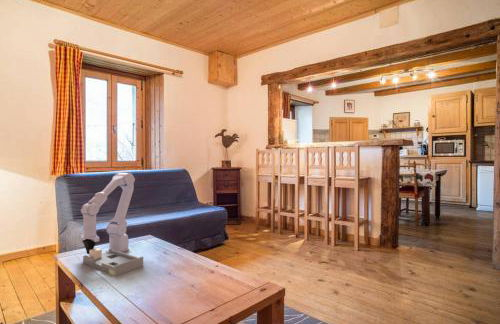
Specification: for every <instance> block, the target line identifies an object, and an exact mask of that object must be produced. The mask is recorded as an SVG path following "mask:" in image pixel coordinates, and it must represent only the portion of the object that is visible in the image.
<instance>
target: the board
mask: <svg viewBox="0 0 500 324" xmlns="http://www.w3.org/2000/svg"><path fill="white" fill-rule="evenodd" d="M108 250H109V252H104V253H102V257H101V258H97V259H94V258H91V257H89V255H83V256H82V259H83V260H82V262H83V264H84V265H87V266H90V267H93V268H95V269H98V270H100V271H102V272H105V273H107V274H110V275H112V276H114V277H116V276H120V275H123V274H125V273H128V272H131V271H134V270H137V269H140V268H143V267H144V256H140V257H138V256H136V255H132V254H128V253H125V252H119V251H116V250H113V249H109V248H108Z"/></svg>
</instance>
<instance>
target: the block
mask: <svg viewBox="0 0 500 324" xmlns="http://www.w3.org/2000/svg"><path fill="white" fill-rule="evenodd" d="M102 250H103V249H102V248H99V247H96V248H95V247H94V249H91V250H89V254H88V257H91V258H94V259H97V258H101V257H102V254H103V253H102Z"/></svg>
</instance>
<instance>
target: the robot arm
mask: <svg viewBox="0 0 500 324" xmlns="http://www.w3.org/2000/svg"><path fill="white" fill-rule="evenodd" d="M135 181H136V178H135V177H134V175H133V173H131V172H117V173H116V174H114V175H113V176H112V179H111V181H110V182H109V183H108V184H107V185H106V186H105V188H104V189H102V191H98V192H96V193H95V194H94V196H93V197H92V198H91V199H90V200H88V202H87V203H84V204H83V205H82V207H81V209H80V213H81V214H82V219H83V224H82V225H83V226H82V227H83V230H82V231H83V233H80V239H82V243H83V246H84V248H85V251H86V254H88V255H89V250H91V249H95V246H96V244H97V242H100V236H98V235H97V214H98V213H99V211H100V208H101V207H102V205H103V204H104V203H106V201H107V200H108V196H109V195H110V194H111V193H112V192H113V191H114V190H115V189H116V188H118V187H120V188H121V189H122V192H121V195H120V198H119V202H118V205H117V208H116V210H115V211H116V212H115V215H114V217H113V218H111V219H110V221H109V223H108V224H107V226H106V233H107V234H108V237H109V239H108V240H109V243H108V244H109V246H108V249H107V250H105V253H107V252H109V249H113V250H116V251H119V252H122V253H124V252H126V251H129V250H130V248H129V236H128V234H127V233H126V232H127V224H128V222H127V221H126V216H127V214H128V213H127V212H128V209H129V206H130V202H131V199H132V195H133V193H134V189H135V187H134V186H135V185H134V183H135Z"/></svg>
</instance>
